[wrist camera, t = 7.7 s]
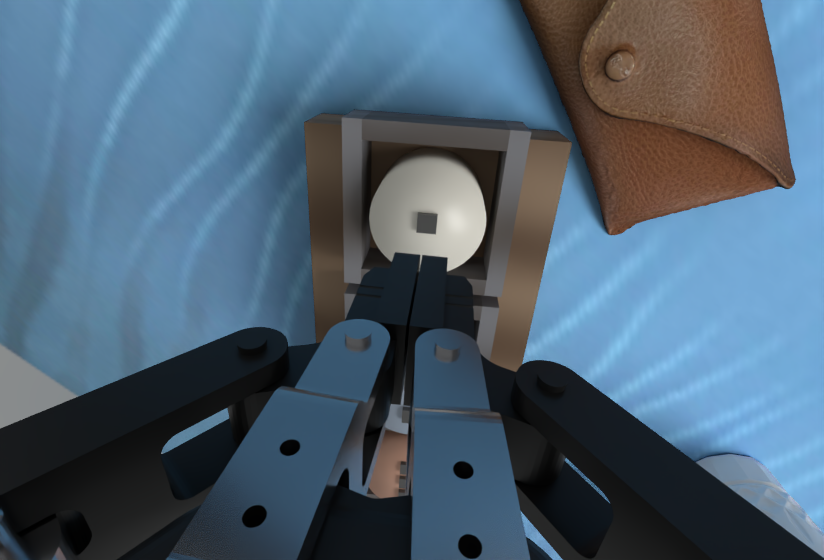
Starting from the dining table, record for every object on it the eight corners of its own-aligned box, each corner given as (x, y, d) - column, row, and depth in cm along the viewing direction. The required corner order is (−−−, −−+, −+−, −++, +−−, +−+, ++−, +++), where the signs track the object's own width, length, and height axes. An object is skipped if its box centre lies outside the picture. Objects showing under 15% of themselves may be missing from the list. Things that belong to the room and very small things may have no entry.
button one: (381, 143, 20) (368, 160, 17) (488, 152, 19) (494, 170, 16) (378, 242, 22) (367, 271, 19) (475, 250, 22) (478, 281, 19)
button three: (374, 408, 27) (365, 450, 24) (451, 416, 27) (451, 460, 24) (373, 461, 29) (364, 505, 27) (444, 469, 29) (443, 514, 26)
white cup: (645, 508, 34) (710, 666, 26) (689, 438, 31) (784, 595, 22) (744, 524, 34) (844, 689, 26) (801, 457, 31) (940, 622, 22)
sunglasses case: (451, -102, 18) (561, -253, 12) (571, -174, 19) (725, -343, 13) (610, 247, 25) (733, 265, 18) (691, 175, 26) (832, 169, 20)
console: (321, 98, 22) (284, 113, 17) (561, 116, 22) (591, 136, 17) (333, 430, 33) (312, 495, 28) (491, 447, 33) (498, 517, 28)
